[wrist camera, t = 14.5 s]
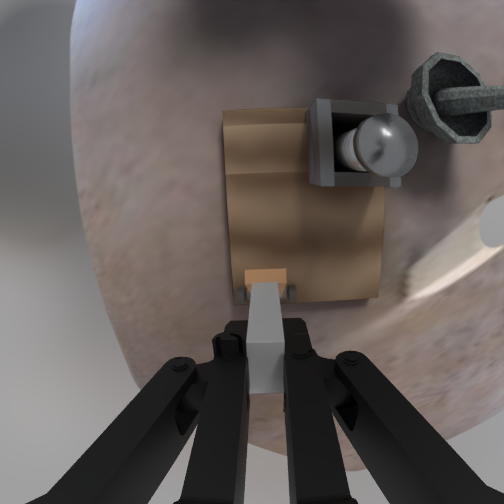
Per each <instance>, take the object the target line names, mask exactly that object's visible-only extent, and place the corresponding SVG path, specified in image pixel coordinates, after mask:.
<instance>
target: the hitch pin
mask: <svg viewBox="0 0 504 504" xmlns="http://www.w3.org/2000/svg"><path fill="white" fill-rule="evenodd" d="M333 153H334V170H346V171H368V172H369V173H371V174H373V175H376V176H381V177H391V178H392V177H400V176H403V175H404V174H406V173H408V172H409V171H410V170H411V169H412V167H413V166H414V164H415V162H416V160H417V156H418V141H417V138H416V135H415V133H414V131H413V129H412V127H411V126H410V125H409V124H408V123H407V121H405V120H404V119H403V118H401V117H400V116H398V115H395V114H392V113H379V114H376V115H374V116H372V117H370V118H367V119H365V120H364V121H363V122H361V123H360V124H359V126H358V127H357V128H355V129H353V130H351V131H348V132H346V133H344V134H341V135H339V136H337V137H334V138H333Z"/></svg>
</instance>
